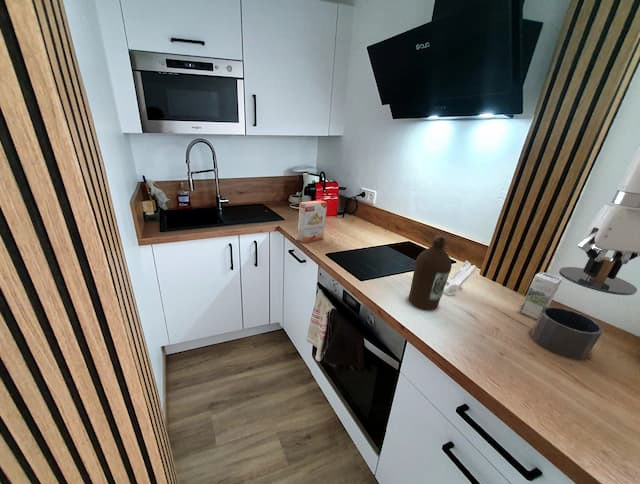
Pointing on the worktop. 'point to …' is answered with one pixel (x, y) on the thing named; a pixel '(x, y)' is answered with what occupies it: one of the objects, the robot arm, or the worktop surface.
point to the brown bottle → (430, 275)
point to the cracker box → (311, 221)
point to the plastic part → (458, 278)
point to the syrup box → (540, 294)
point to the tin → (566, 332)
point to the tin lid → (599, 279)
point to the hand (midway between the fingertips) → (598, 274)
